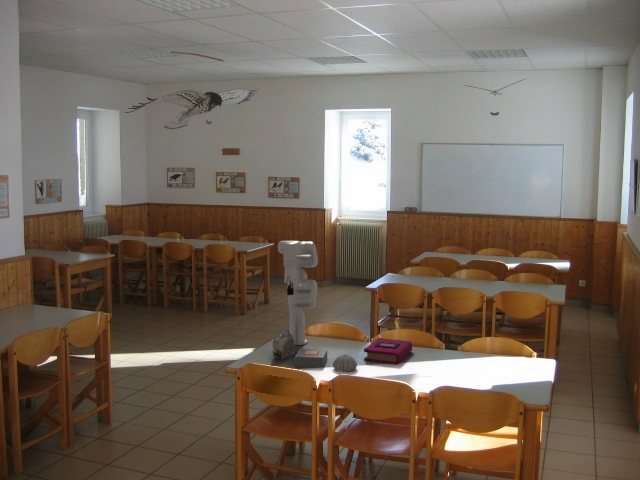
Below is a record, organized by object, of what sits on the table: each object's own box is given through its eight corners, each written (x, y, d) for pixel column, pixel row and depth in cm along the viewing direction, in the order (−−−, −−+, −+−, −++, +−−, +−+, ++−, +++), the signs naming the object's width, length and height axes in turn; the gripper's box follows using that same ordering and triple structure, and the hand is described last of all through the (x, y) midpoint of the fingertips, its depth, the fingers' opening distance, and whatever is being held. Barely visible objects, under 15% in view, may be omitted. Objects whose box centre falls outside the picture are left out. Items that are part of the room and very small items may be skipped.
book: (412, 352, 395) (412, 340, 395) (398, 365, 370) (398, 352, 369) (378, 349, 404) (378, 336, 403) (363, 361, 378) (363, 348, 377)
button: (306, 355, 379) (306, 350, 379) (318, 356, 378) (318, 351, 378) (304, 359, 372) (304, 354, 372) (316, 359, 371) (316, 354, 371)
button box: (299, 358, 385) (299, 348, 384) (327, 359, 382) (327, 349, 382) (294, 366, 369) (294, 356, 368) (323, 367, 367) (323, 357, 366)
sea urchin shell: (336, 374, 355) (336, 359, 354) (329, 366, 368) (329, 352, 367) (360, 372, 358) (360, 357, 357) (352, 364, 371) (352, 350, 370)
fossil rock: (283, 367, 379) (279, 343, 375) (268, 366, 383) (264, 342, 379) (298, 351, 397) (294, 327, 393) (283, 350, 401) (279, 327, 397)
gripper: (286, 261, 399) (286, 291, 401) (281, 265, 383) (281, 297, 385) (298, 261, 398) (299, 292, 400) (294, 265, 382) (294, 297, 384)
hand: (290, 294), depth 392 cm, fingers closed
